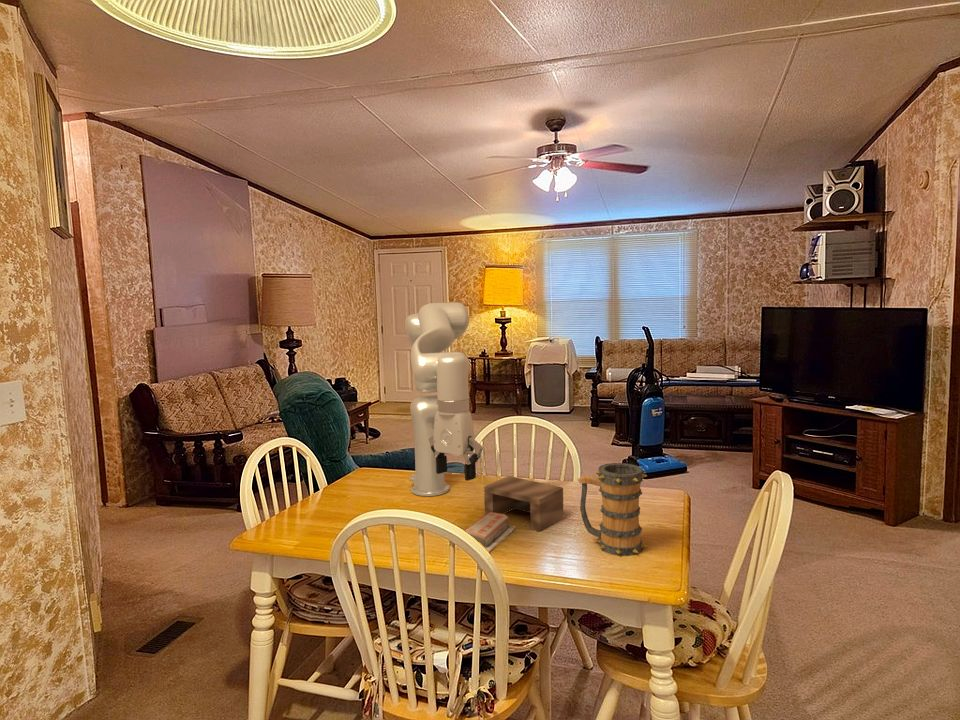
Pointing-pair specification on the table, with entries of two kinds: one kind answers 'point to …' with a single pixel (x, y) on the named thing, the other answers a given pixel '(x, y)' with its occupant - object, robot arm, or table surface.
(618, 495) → the mug
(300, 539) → the table surface
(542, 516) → the walnut shelf
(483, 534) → the packaged product
